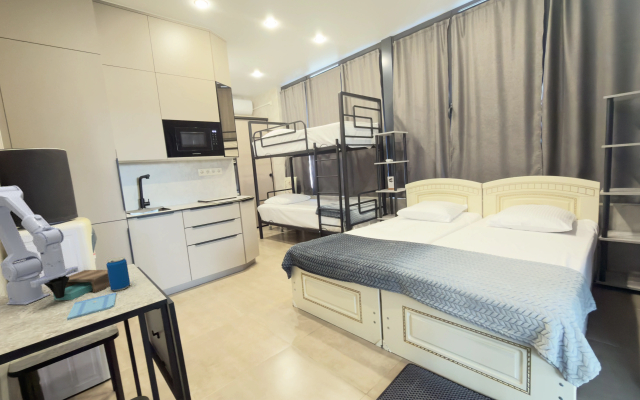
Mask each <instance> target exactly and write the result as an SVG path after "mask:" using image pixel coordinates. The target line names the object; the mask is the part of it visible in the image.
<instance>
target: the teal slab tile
mask: <svg viewBox="0 0 640 400" xmlns="http://www.w3.org/2000/svg"><path fill="white" fill-rule="evenodd" d="M90 292H93V288H92V283H91V282H79V283H77V284H75V285H72V286H70V287H67V288H65V293H64V297H62V298H56V297H55V295H54V294H53V293H52V295H53V299H54V301H73V300H76V299H77V298H80V297H81V296H84V295H86V294H88V293H90Z"/></svg>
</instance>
